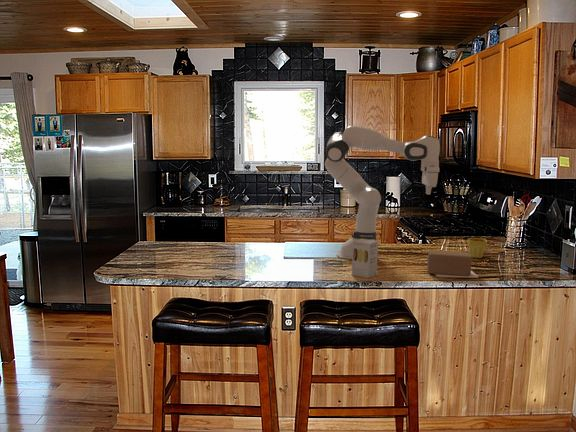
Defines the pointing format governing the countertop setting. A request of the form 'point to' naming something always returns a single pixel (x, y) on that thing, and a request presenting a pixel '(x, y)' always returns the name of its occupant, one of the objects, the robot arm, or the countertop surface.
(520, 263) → the countertop surface
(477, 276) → the mat
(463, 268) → the wooden block
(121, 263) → the countertop surface
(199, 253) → the countertop surface
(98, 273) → the countertop surface
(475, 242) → the plant pot
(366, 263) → the supplement box
